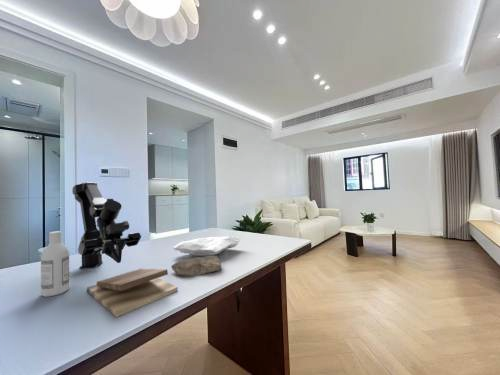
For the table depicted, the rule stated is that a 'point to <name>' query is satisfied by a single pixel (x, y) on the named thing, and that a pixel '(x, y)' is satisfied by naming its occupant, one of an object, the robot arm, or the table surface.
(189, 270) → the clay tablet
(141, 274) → the walnut plank
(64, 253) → the bath foam
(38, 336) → the table surface
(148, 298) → the oak floor board
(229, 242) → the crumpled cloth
